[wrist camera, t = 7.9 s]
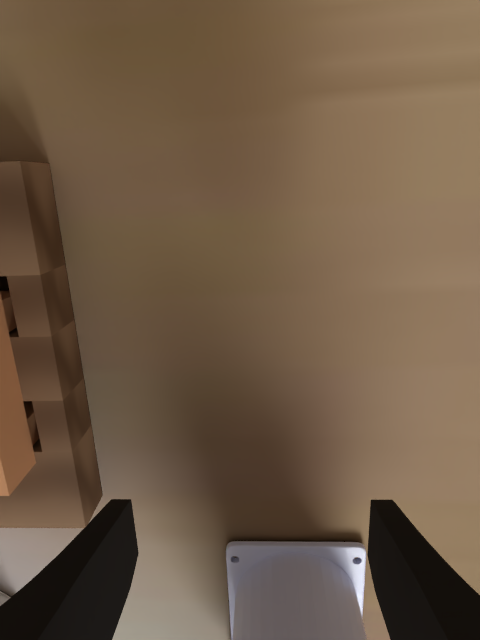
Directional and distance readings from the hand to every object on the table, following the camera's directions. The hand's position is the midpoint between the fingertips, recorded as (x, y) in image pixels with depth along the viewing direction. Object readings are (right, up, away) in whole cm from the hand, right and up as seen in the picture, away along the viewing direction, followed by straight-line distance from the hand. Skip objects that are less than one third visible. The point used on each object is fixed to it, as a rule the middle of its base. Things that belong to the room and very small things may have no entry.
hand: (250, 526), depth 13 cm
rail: (-12, +5, +9) cm, 16 cm away
